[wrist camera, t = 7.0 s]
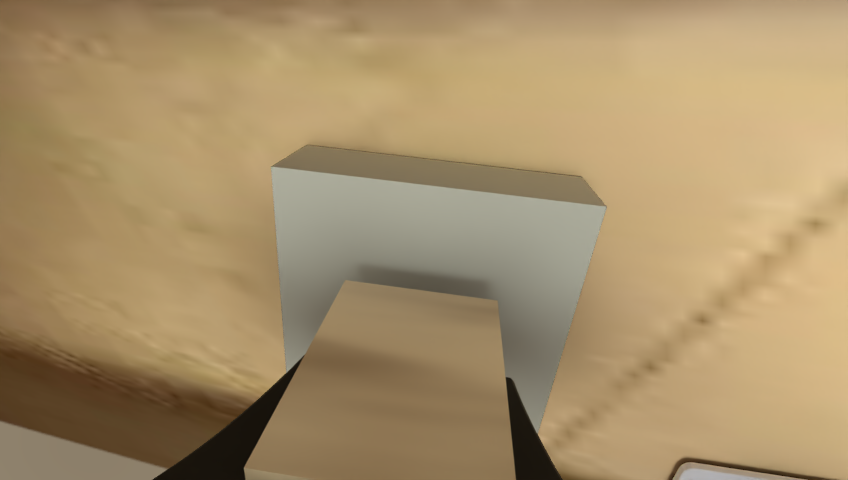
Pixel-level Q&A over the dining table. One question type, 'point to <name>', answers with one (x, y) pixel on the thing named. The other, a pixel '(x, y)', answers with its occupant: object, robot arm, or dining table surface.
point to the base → (437, 246)
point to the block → (394, 393)
